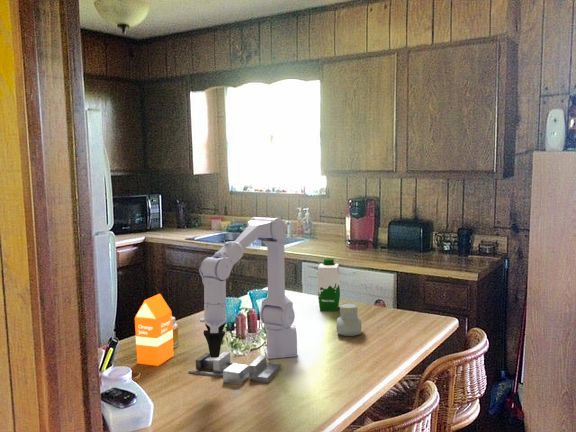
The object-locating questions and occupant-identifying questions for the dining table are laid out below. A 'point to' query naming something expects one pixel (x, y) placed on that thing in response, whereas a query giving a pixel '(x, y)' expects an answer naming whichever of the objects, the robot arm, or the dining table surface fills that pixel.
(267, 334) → the robot arm
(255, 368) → the vise base
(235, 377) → the steel block
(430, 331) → the dining table surface
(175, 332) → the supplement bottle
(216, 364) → the free jaw
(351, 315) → the air freshener
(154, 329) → the orange juice
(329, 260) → the milk carton
